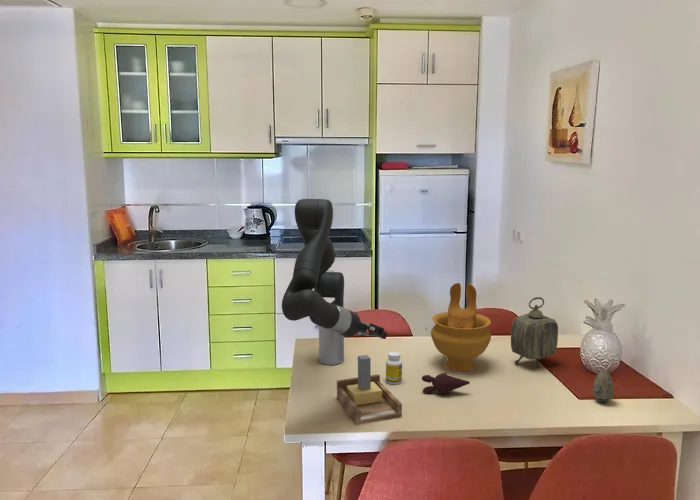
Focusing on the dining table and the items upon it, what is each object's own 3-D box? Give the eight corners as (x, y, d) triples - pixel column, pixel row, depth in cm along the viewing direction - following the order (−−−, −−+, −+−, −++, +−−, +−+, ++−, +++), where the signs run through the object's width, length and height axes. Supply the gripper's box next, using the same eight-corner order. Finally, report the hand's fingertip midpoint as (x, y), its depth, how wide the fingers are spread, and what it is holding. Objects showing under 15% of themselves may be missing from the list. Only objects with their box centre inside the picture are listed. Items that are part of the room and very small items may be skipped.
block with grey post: (346, 396, 177) (346, 355, 174) (373, 392, 180) (373, 351, 177) (354, 405, 170) (354, 363, 168) (382, 401, 173) (382, 359, 171)
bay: (337, 398, 178) (336, 380, 177) (378, 391, 183) (378, 374, 181) (356, 424, 161) (356, 404, 160) (401, 416, 166) (402, 397, 165)
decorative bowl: (423, 371, 199) (425, 288, 193) (437, 351, 218) (439, 275, 213) (484, 380, 191) (488, 294, 186) (493, 358, 210) (497, 279, 205)
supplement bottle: (400, 385, 188) (401, 357, 186) (384, 384, 189) (384, 356, 187) (402, 378, 193) (403, 351, 191) (386, 377, 194) (387, 350, 192)
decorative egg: (611, 407, 171) (613, 376, 169) (590, 403, 174) (592, 372, 172) (614, 400, 176) (616, 369, 174) (593, 395, 179) (595, 365, 177)
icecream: (467, 369, 184) (421, 371, 186) (469, 372, 177) (421, 375, 178) (469, 391, 183) (422, 393, 185) (471, 395, 176) (423, 397, 178)
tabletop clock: (539, 357, 211) (543, 292, 207) (558, 365, 203) (562, 298, 199) (509, 364, 205) (512, 296, 201) (527, 372, 197) (530, 303, 193)
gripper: (362, 309, 158) (395, 324, 170) (325, 306, 168) (359, 320, 179) (356, 336, 156) (390, 349, 168) (319, 331, 166) (354, 344, 177)
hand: (374, 334), depth 173 cm, fingers open, 8 cm apart
